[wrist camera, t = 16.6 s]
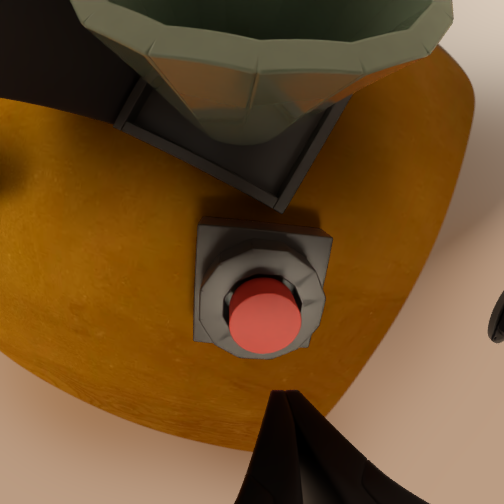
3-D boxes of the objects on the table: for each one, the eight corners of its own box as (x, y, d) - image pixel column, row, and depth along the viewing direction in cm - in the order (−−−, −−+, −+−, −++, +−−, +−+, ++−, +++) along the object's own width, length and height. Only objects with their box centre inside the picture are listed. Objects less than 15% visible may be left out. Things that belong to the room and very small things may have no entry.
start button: (299, 279, 13) (308, 295, 12) (288, 335, 14) (294, 354, 12) (232, 274, 13) (231, 290, 11) (226, 331, 14) (226, 352, 12)
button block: (321, 228, 16) (346, 247, 12) (301, 329, 18) (315, 366, 15) (202, 216, 16) (192, 232, 12) (197, 322, 18) (189, 360, 14)
